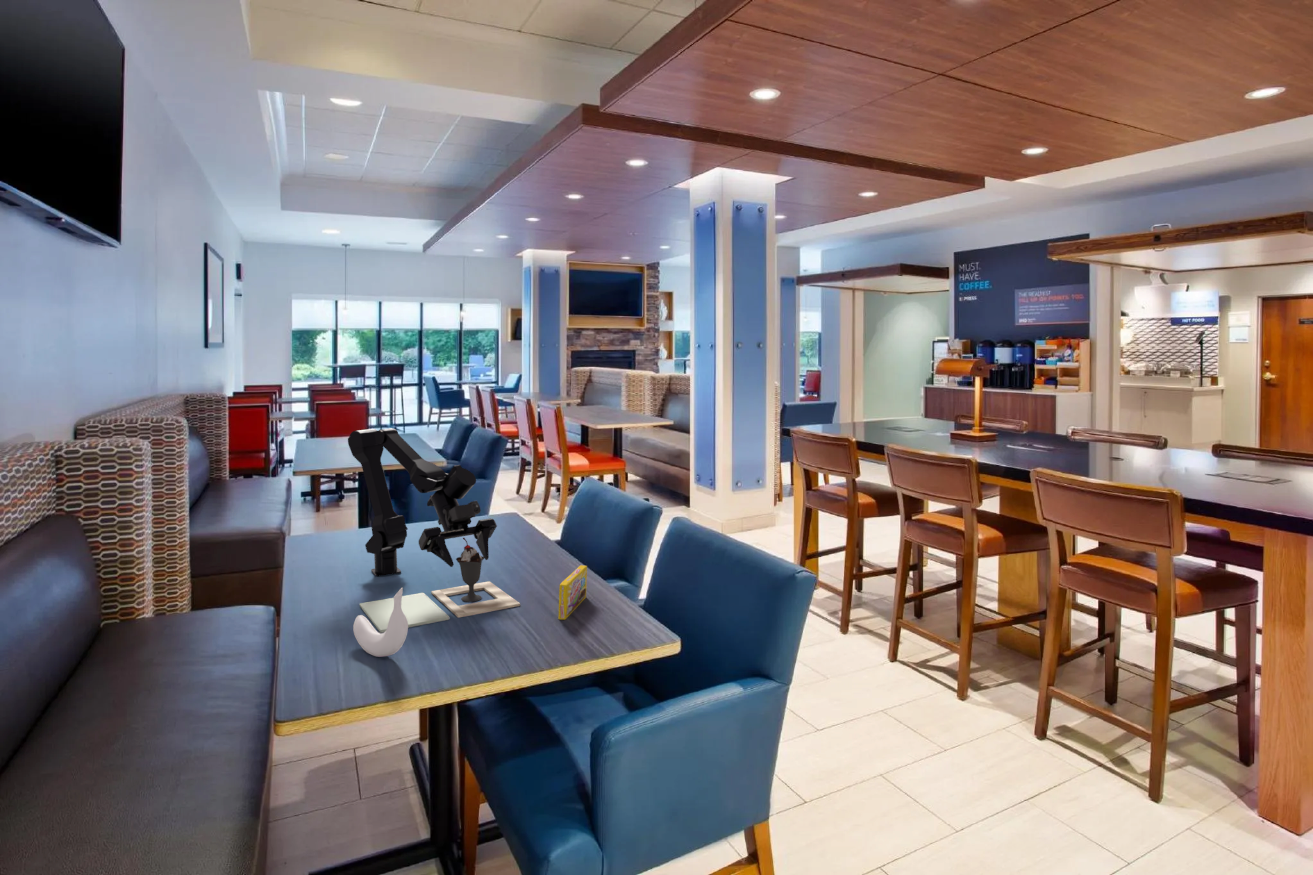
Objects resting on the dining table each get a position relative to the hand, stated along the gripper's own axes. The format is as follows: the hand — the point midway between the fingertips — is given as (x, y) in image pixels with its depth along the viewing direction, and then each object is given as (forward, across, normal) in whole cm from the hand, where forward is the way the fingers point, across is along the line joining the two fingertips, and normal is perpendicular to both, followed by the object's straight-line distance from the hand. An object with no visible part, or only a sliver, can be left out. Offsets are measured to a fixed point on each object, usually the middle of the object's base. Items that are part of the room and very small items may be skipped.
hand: (470, 562), depth 185 cm
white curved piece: (+20, -30, -7) cm, 36 cm away
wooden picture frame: (+7, 0, +5) cm, 9 cm away
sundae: (+7, 0, +6) cm, 9 cm away
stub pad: (+6, -17, +7) cm, 19 cm away
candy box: (+22, +15, -8) cm, 28 cm away
